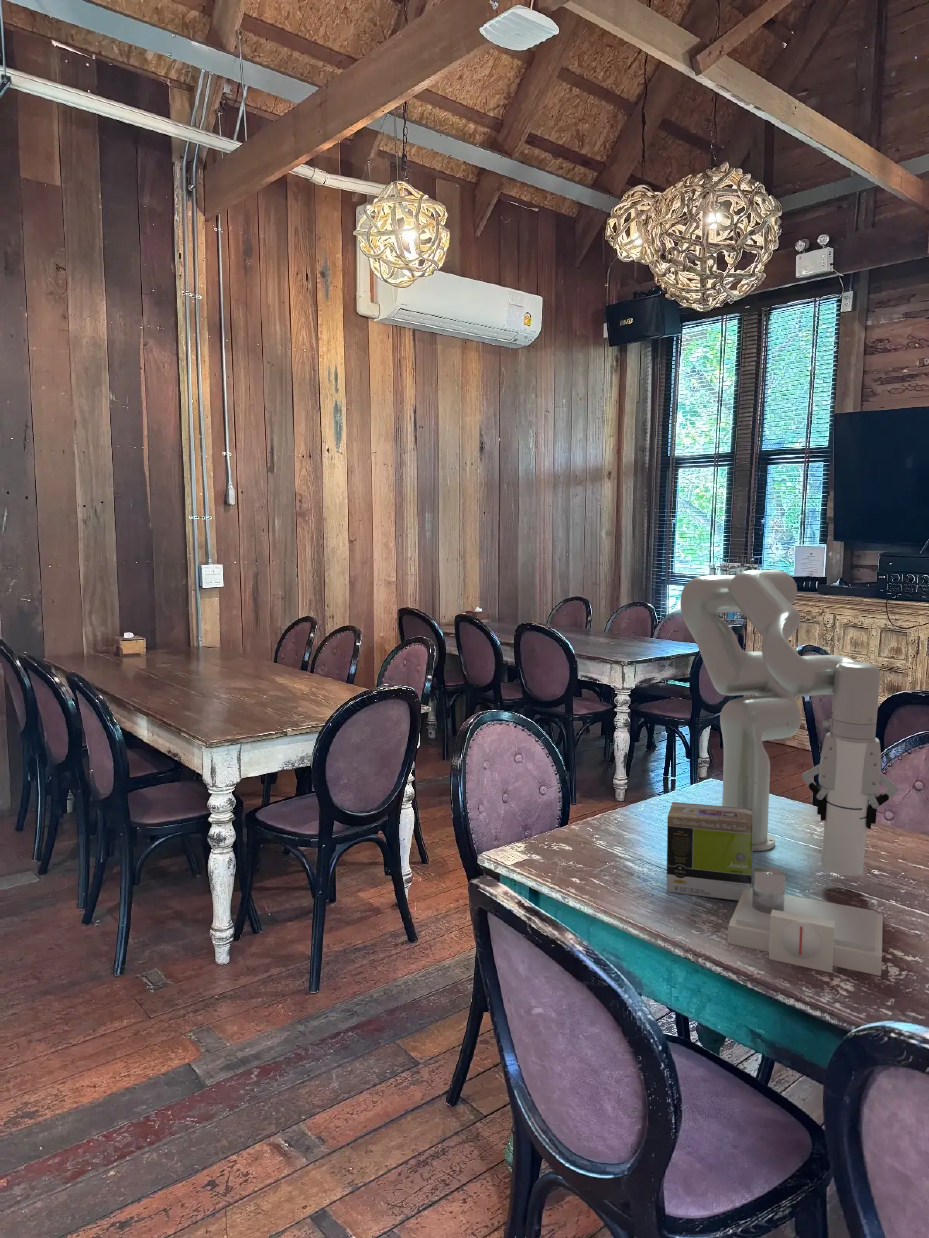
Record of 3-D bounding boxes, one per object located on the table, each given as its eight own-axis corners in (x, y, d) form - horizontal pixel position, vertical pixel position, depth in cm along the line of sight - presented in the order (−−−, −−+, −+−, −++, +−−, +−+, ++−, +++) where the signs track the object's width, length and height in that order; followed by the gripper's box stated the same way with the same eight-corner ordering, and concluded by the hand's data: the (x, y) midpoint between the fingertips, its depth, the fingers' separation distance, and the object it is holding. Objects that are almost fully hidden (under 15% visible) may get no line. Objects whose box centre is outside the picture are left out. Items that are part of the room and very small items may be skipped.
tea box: (751, 883, 157) (754, 807, 156) (751, 904, 148) (754, 824, 146) (669, 872, 162) (672, 799, 161) (664, 892, 153) (667, 814, 151)
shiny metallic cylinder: (750, 909, 137) (751, 874, 136) (754, 898, 141) (755, 864, 141) (782, 916, 134) (783, 880, 134) (785, 904, 139) (787, 869, 138)
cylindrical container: (814, 860, 158) (823, 732, 155) (849, 859, 159) (860, 732, 156) (833, 876, 151) (844, 742, 148) (871, 875, 152) (882, 742, 149)
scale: (724, 951, 130) (726, 908, 130) (743, 905, 147) (744, 867, 147) (880, 985, 120) (883, 938, 120) (881, 932, 137) (883, 891, 137)
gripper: (800, 727, 152) (793, 820, 155) (906, 740, 145) (898, 838, 147) (803, 719, 159) (797, 808, 161) (906, 731, 151) (898, 824, 153)
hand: (845, 821), depth 154 cm, fingers closed on cylindrical container, 7 cm apart
